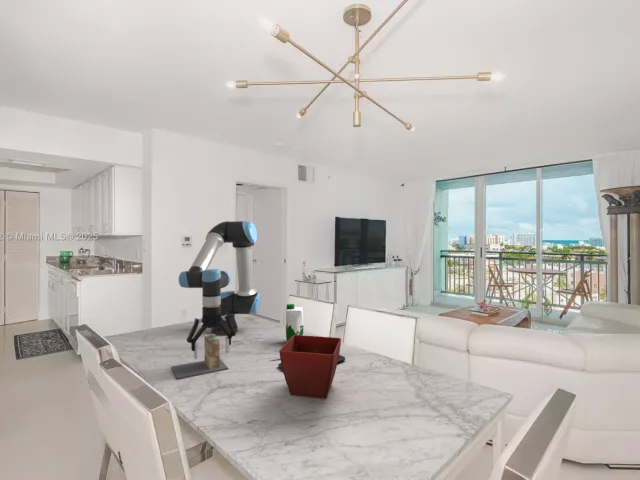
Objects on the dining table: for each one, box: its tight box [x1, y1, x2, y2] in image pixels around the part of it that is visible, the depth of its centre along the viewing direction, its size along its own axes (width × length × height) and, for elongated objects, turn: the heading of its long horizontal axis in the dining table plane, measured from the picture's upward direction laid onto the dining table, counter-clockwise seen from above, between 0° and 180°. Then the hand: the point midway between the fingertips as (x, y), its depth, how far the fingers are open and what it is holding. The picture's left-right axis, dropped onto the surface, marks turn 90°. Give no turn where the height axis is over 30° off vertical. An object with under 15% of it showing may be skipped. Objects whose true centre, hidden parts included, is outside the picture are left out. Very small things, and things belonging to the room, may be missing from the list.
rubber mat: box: [170, 358, 229, 380], centre depth 146 cm, size 20×14×1 cm
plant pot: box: [278, 334, 342, 400], centre depth 126 cm, size 19×19×17 cm
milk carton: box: [285, 303, 304, 343], centre depth 180 cm, size 9×9×20 cm
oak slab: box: [203, 333, 221, 369], centre depth 148 cm, size 4×9×12 cm, turn 32°
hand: (211, 355), depth 148 cm, fingers open, 13 cm apart
